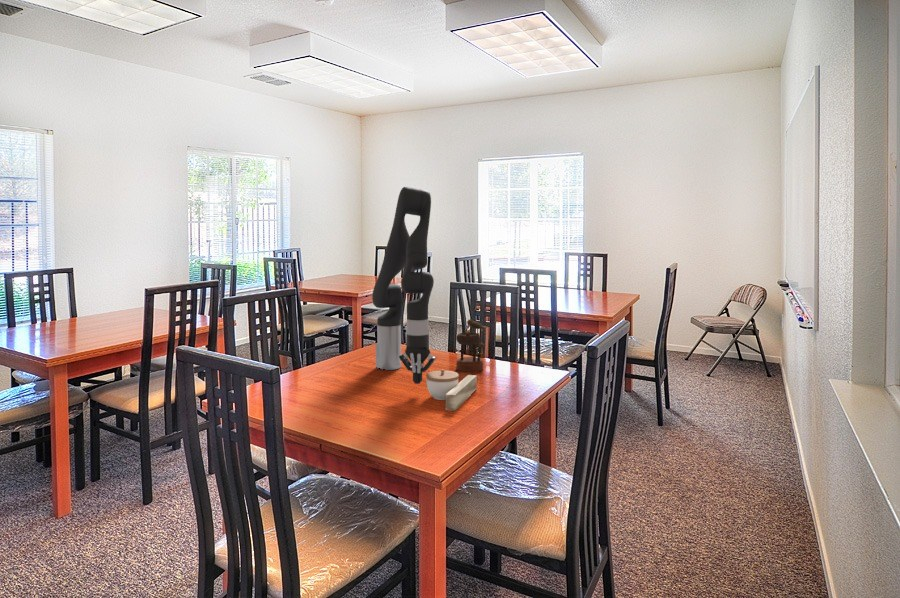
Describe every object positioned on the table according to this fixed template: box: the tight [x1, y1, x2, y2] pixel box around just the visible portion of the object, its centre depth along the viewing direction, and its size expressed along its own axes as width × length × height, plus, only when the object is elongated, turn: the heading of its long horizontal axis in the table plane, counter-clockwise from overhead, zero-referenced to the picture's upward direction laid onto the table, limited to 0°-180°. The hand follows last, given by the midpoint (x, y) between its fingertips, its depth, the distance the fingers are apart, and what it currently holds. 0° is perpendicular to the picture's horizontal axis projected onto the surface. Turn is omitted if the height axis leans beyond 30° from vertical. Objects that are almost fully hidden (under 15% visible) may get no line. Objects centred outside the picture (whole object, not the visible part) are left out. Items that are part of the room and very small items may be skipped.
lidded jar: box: [425, 369, 460, 401], centre depth 190 cm, size 11×11×9 cm
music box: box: [448, 319, 488, 373], centre depth 225 cm, size 15×11×20 cm
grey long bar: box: [445, 374, 478, 412], centre depth 188 cm, size 3×24×5 cm, turn 162°
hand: (417, 383), depth 193 cm, fingers closed
